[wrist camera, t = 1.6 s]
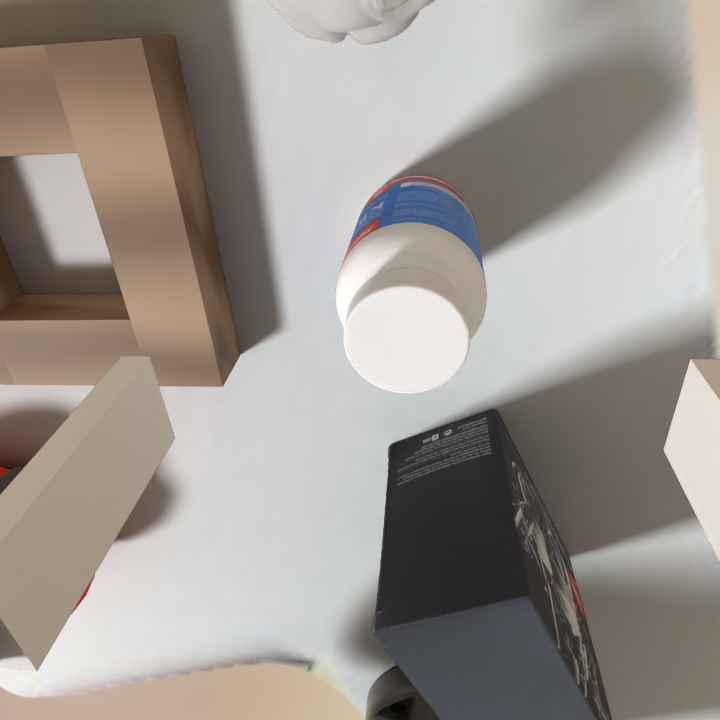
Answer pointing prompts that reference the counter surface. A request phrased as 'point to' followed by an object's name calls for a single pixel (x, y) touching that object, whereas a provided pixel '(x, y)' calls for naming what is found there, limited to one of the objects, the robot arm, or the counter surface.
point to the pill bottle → (411, 286)
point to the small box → (481, 583)
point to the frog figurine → (349, 18)
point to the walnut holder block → (118, 217)
